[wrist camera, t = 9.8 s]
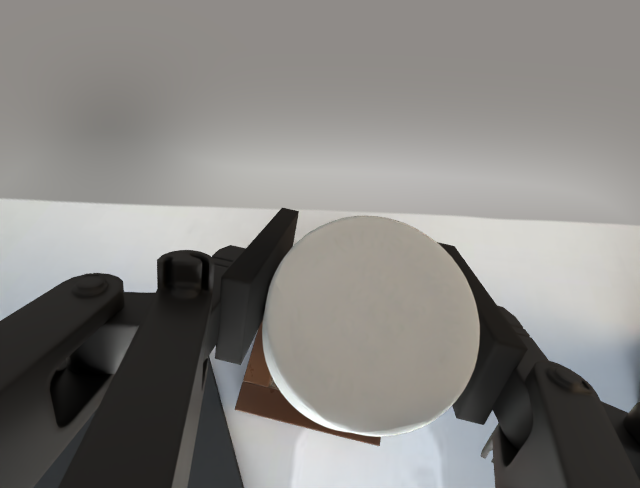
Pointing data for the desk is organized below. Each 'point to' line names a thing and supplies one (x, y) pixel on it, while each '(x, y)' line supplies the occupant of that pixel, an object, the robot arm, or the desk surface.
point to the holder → (277, 398)
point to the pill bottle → (370, 327)
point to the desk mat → (208, 456)
